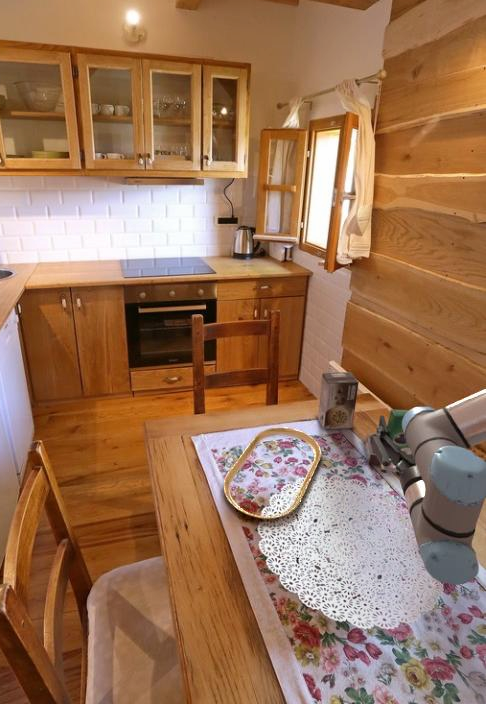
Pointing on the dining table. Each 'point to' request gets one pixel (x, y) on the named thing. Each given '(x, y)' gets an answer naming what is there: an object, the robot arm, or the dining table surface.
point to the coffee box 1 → (337, 400)
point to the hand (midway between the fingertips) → (401, 423)
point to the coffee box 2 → (397, 431)
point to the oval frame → (250, 449)
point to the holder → (371, 452)
